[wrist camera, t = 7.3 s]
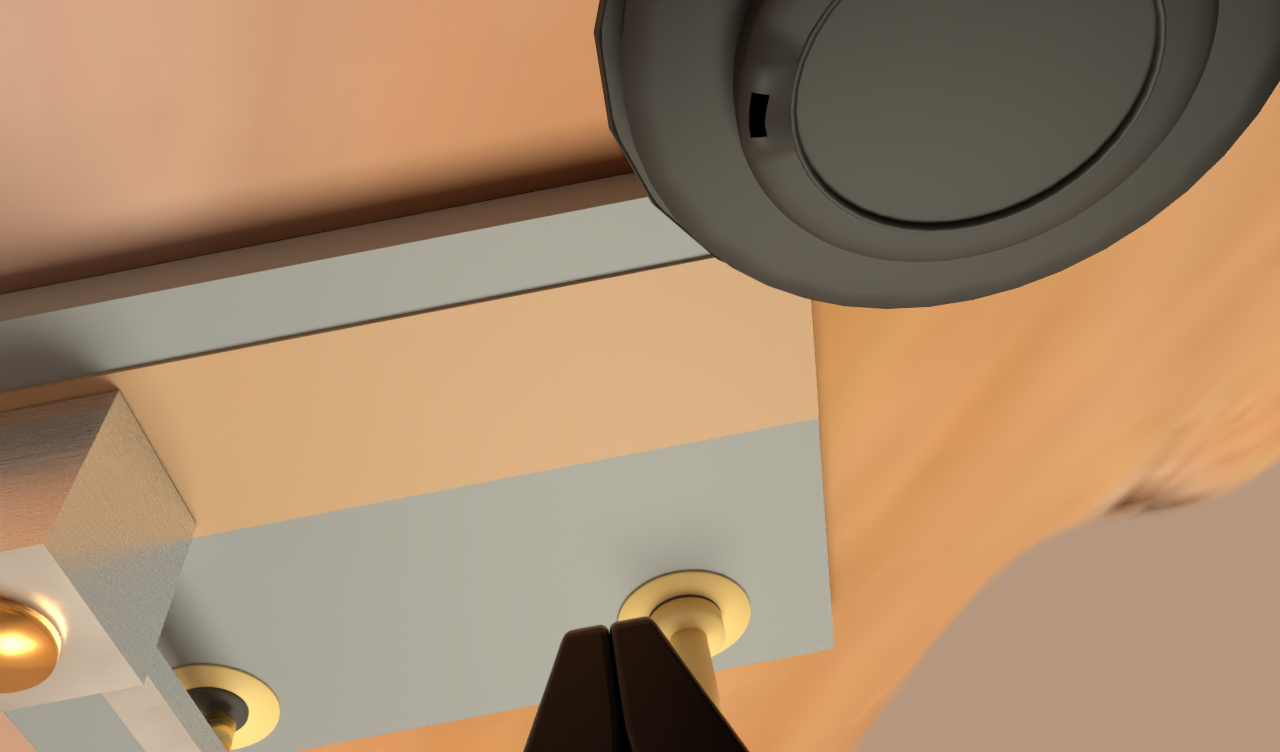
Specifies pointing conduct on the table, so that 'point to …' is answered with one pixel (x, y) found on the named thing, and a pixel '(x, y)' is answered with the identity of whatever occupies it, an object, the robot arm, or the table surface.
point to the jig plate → (449, 459)
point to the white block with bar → (94, 571)
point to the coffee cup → (925, 130)
